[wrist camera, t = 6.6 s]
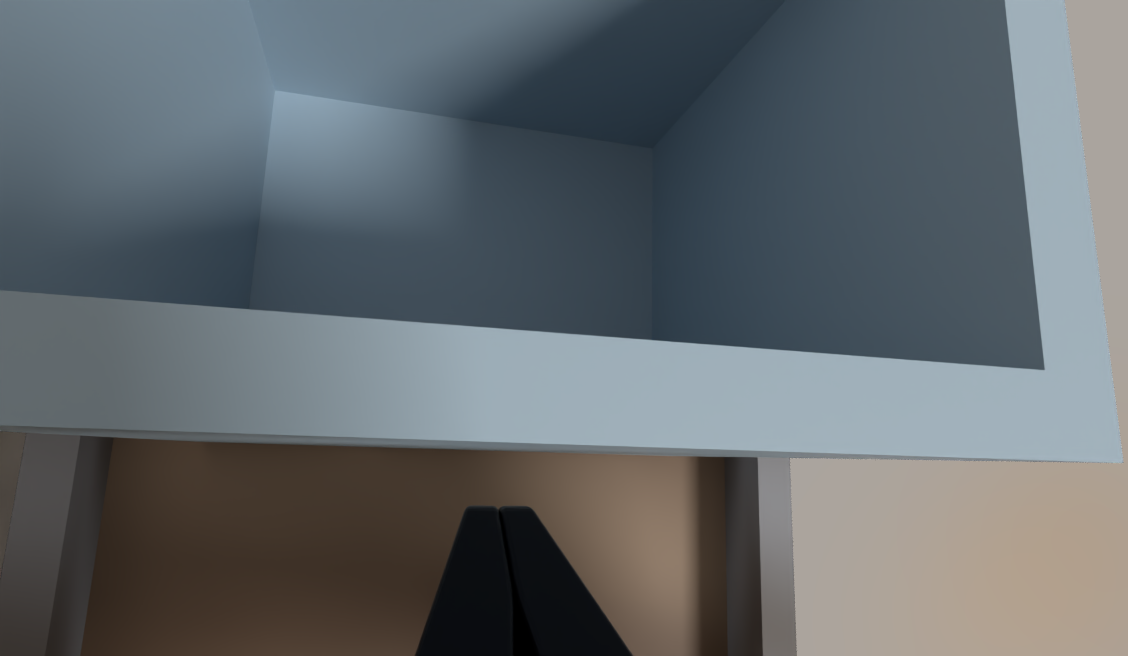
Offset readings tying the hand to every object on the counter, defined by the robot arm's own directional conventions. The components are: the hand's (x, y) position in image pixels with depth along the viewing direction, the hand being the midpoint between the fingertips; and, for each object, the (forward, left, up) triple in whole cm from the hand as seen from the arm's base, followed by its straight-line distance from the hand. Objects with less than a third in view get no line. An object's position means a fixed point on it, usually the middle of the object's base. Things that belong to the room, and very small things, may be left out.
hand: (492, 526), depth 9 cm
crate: (+5, 0, -6) cm, 8 cm away
